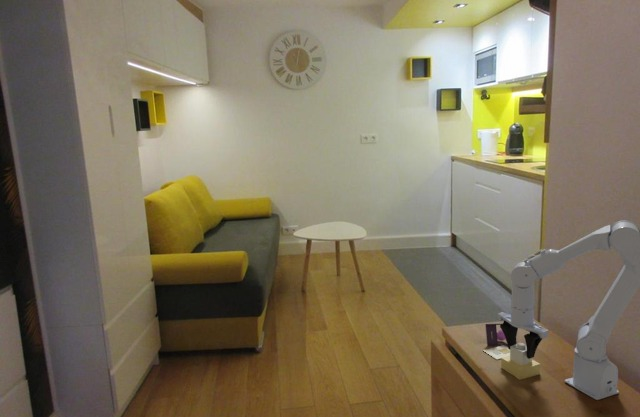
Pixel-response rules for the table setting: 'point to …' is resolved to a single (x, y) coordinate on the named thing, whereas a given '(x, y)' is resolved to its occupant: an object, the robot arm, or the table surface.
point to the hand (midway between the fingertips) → (520, 352)
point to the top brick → (519, 354)
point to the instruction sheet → (498, 352)
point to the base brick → (520, 368)
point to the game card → (494, 335)
